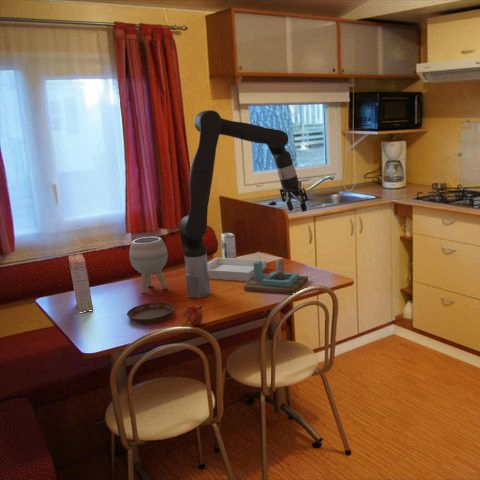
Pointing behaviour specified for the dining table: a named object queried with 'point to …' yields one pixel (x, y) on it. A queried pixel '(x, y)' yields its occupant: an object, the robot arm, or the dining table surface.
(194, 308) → the pomegranate
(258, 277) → the teal frame with handle
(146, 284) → the planter
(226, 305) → the dining table surface
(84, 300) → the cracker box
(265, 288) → the stake board
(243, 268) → the tray
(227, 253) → the syrup box
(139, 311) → the plant saucer
